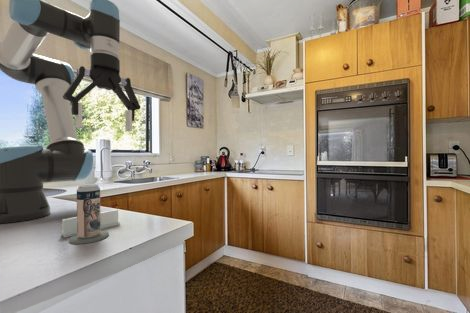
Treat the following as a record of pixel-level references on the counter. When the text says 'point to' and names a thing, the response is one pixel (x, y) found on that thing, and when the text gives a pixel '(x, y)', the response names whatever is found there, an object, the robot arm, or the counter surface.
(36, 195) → the robot arm
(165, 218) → the counter surface
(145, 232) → the counter surface
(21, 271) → the counter surface
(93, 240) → the coaster
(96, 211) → the beer can
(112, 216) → the divider
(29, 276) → the counter surface
